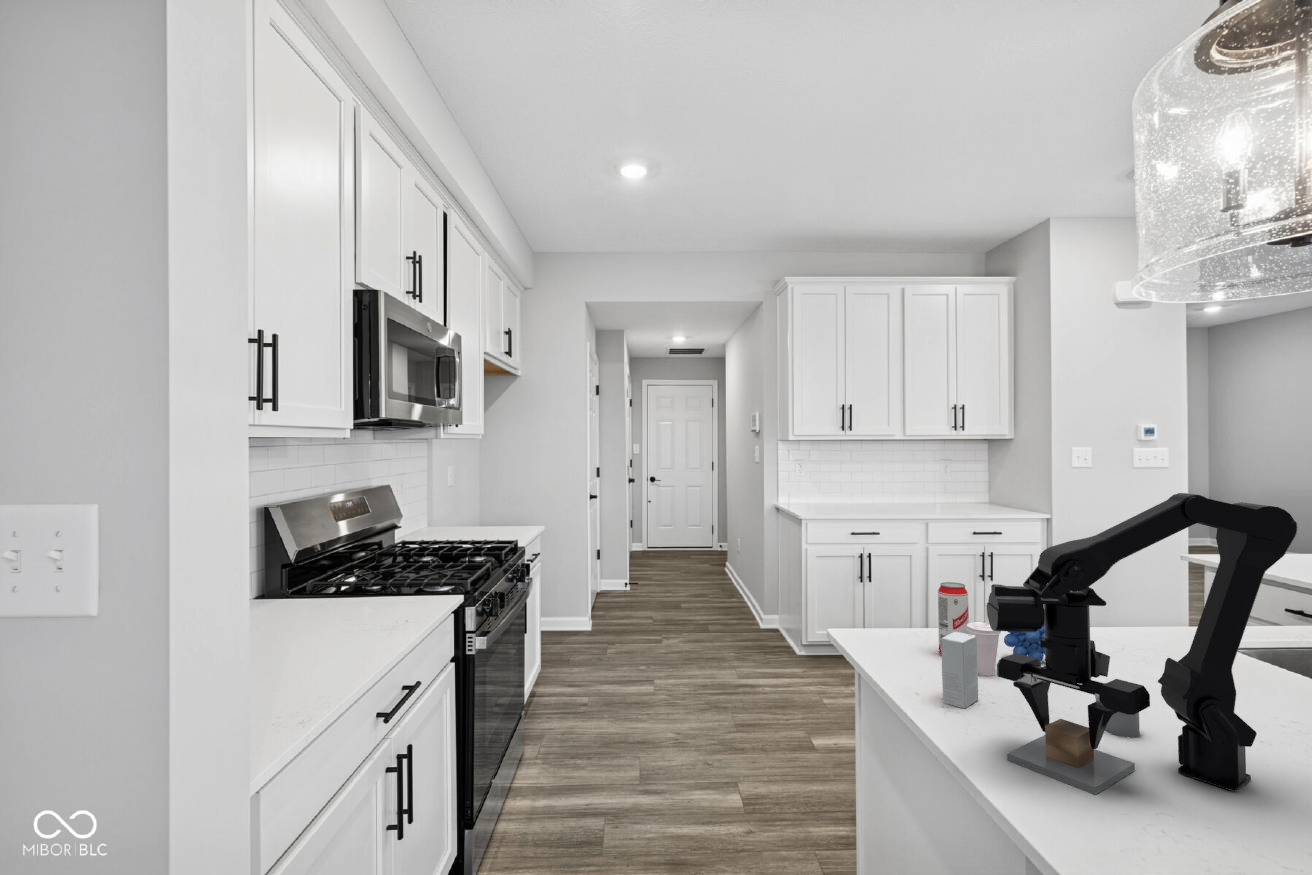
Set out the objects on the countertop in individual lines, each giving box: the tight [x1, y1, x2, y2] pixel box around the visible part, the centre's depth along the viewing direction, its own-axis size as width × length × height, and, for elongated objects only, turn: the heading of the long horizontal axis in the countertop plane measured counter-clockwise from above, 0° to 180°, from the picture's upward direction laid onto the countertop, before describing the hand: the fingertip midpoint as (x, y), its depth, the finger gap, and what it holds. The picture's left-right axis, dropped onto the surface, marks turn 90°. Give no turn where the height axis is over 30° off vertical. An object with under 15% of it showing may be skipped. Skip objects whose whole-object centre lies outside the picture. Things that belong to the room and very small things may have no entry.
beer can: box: [937, 581, 970, 655], centre depth 147 cm, size 6×6×16 cm
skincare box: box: [941, 632, 979, 709], centre depth 121 cm, size 6×4×12 cm
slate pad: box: [1006, 734, 1136, 796], centre depth 96 cm, size 12×12×1 cm
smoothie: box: [967, 604, 1002, 677], centre depth 135 cm, size 6×6×14 cm
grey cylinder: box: [1104, 682, 1141, 739], centre depth 107 cm, size 5×5×7 cm
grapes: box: [1003, 624, 1045, 663], centre depth 142 cm, size 12×7×12 cm, turn 51°
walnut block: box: [1044, 718, 1094, 768], centre depth 96 cm, size 4×4×4 cm
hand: (1069, 739), depth 96 cm, fingers open, 6 cm apart
